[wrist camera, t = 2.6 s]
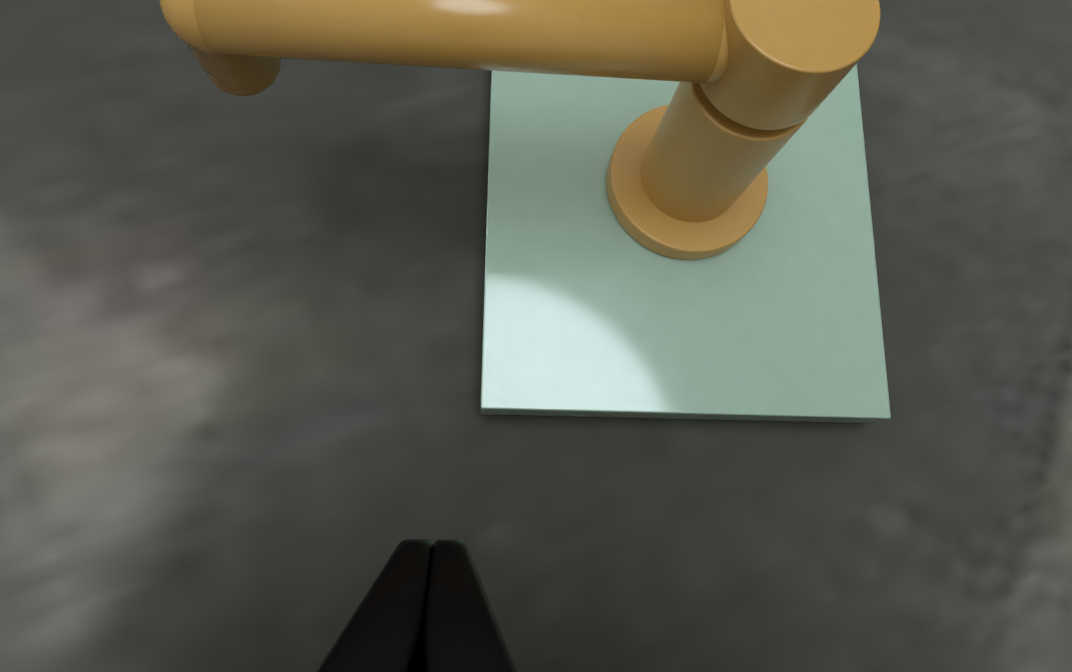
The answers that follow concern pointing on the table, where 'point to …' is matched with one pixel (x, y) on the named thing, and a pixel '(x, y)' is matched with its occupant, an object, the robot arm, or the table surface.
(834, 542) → the table surface
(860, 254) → the tap deck
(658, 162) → the tap column
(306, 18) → the spout
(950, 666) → the table surface
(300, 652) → the table surface
